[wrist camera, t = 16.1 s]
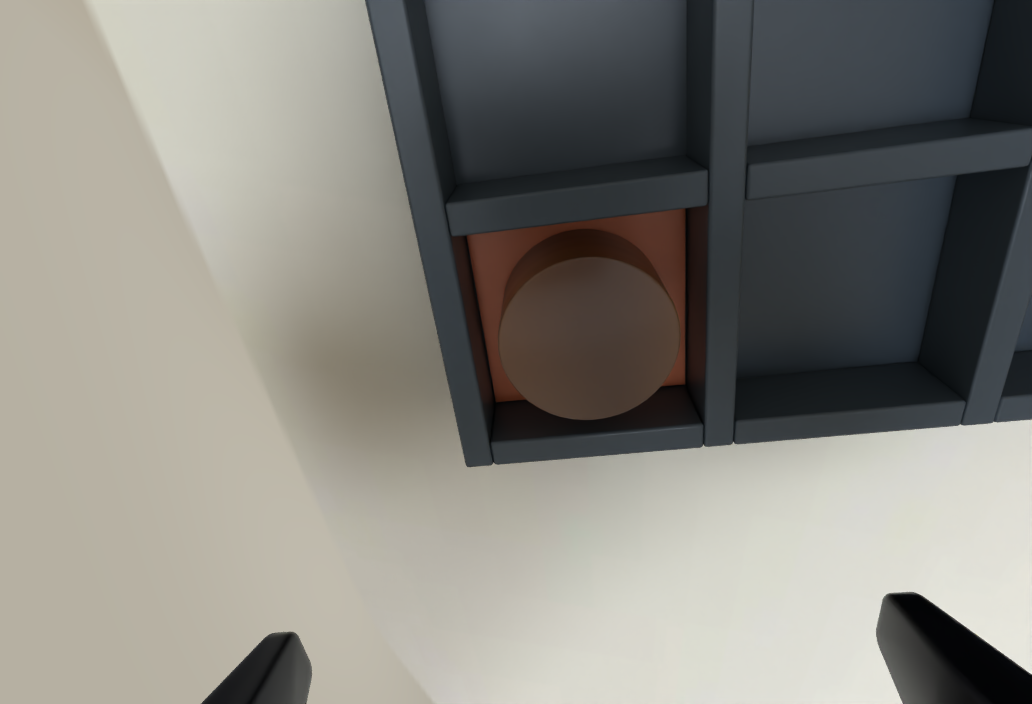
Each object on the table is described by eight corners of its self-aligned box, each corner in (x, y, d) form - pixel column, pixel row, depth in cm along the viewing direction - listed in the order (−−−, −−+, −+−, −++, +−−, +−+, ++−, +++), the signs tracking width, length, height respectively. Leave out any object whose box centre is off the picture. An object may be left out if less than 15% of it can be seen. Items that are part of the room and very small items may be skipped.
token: (514, 382, 17) (511, 428, 15) (491, 239, 15) (484, 268, 13) (663, 367, 17) (681, 412, 14) (660, 218, 15) (680, 245, 13)
